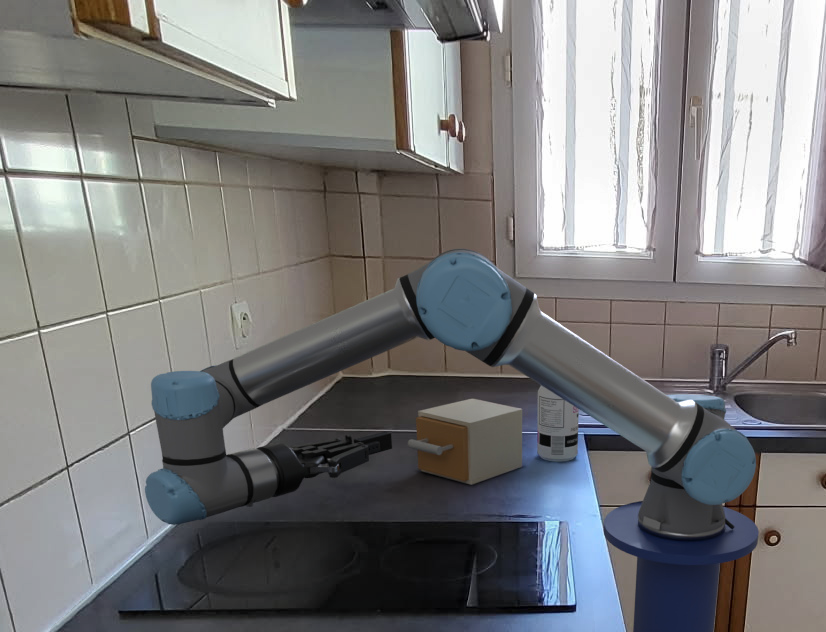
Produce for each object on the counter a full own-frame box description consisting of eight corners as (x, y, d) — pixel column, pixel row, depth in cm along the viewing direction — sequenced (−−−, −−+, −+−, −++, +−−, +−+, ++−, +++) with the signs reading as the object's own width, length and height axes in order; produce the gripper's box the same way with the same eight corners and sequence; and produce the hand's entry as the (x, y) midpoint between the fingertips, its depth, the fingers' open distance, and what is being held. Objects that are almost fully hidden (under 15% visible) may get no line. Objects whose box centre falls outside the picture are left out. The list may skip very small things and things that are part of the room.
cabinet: (471, 485, 150) (469, 422, 146) (420, 471, 156) (417, 411, 152) (522, 466, 162) (522, 408, 158) (473, 454, 168) (472, 398, 164)
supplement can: (531, 453, 171) (531, 381, 166) (568, 449, 175) (569, 379, 170) (545, 464, 165) (546, 389, 159) (583, 460, 169) (585, 387, 163)
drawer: (447, 487, 146) (445, 433, 142) (400, 474, 151) (397, 421, 147) (512, 464, 160) (512, 415, 157) (467, 453, 166) (466, 405, 162)
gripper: (238, 488, 124) (363, 454, 143) (296, 507, 118) (417, 469, 137) (232, 440, 121) (359, 411, 141) (290, 456, 116) (415, 425, 135)
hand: (388, 440), depth 139 cm, fingers closed
